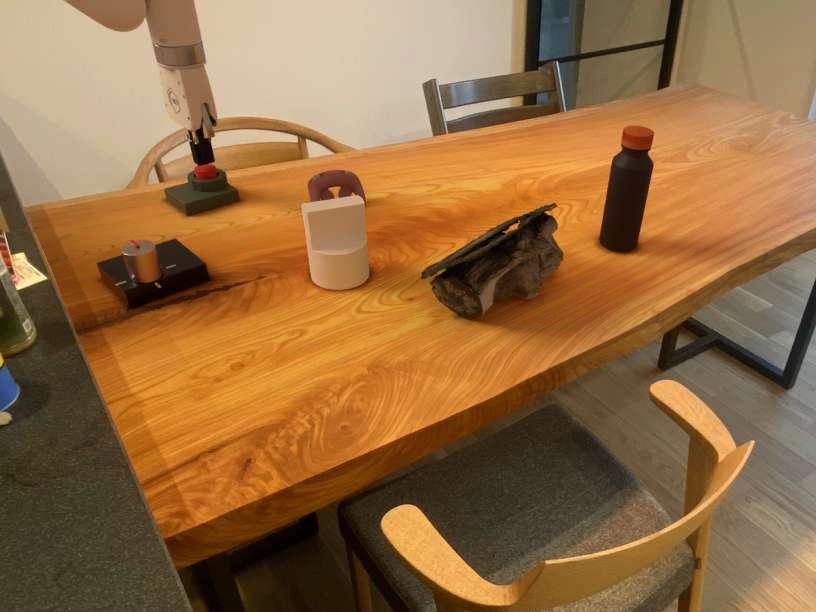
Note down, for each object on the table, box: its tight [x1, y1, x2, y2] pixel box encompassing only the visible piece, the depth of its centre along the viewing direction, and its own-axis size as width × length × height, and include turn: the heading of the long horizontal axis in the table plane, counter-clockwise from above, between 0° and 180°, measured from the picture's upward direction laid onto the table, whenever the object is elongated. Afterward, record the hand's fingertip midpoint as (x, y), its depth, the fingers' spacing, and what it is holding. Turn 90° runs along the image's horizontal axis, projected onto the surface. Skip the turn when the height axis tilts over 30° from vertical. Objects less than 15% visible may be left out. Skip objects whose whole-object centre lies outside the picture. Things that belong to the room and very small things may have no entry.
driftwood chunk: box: [420, 202, 564, 320], centre depth 103 cm, size 28×13×15 cm
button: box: [193, 163, 217, 180], centre depth 125 cm, size 4×4×2 cm
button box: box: [163, 167, 240, 216], centre depth 125 cm, size 10×8×4 cm
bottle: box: [598, 125, 655, 253], centre depth 115 cm, size 7×7×20 cm
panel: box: [95, 238, 211, 309], centre depth 103 cm, size 12×12×3 cm
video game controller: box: [307, 169, 367, 205], centre depth 126 cm, size 10×5×7 cm, turn 116°
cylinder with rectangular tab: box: [301, 194, 370, 291], centre depth 105 cm, size 9×9×12 cm
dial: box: [120, 239, 163, 283], centre depth 98 cm, size 4×4×5 cm
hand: (204, 162), depth 123 cm, fingers closed
